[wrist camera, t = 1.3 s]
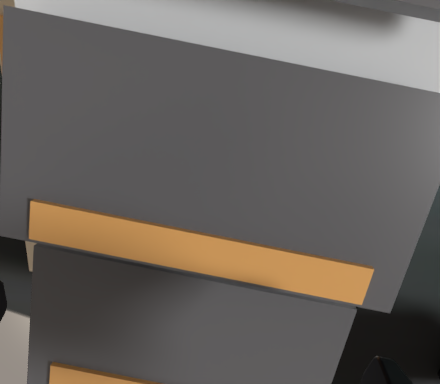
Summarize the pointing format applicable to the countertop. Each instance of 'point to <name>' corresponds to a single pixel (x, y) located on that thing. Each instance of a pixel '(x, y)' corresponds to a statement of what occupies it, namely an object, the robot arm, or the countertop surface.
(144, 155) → the switch middle
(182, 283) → the switch
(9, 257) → the countertop surface
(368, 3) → the switch
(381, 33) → the switch unit
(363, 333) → the countertop surface
